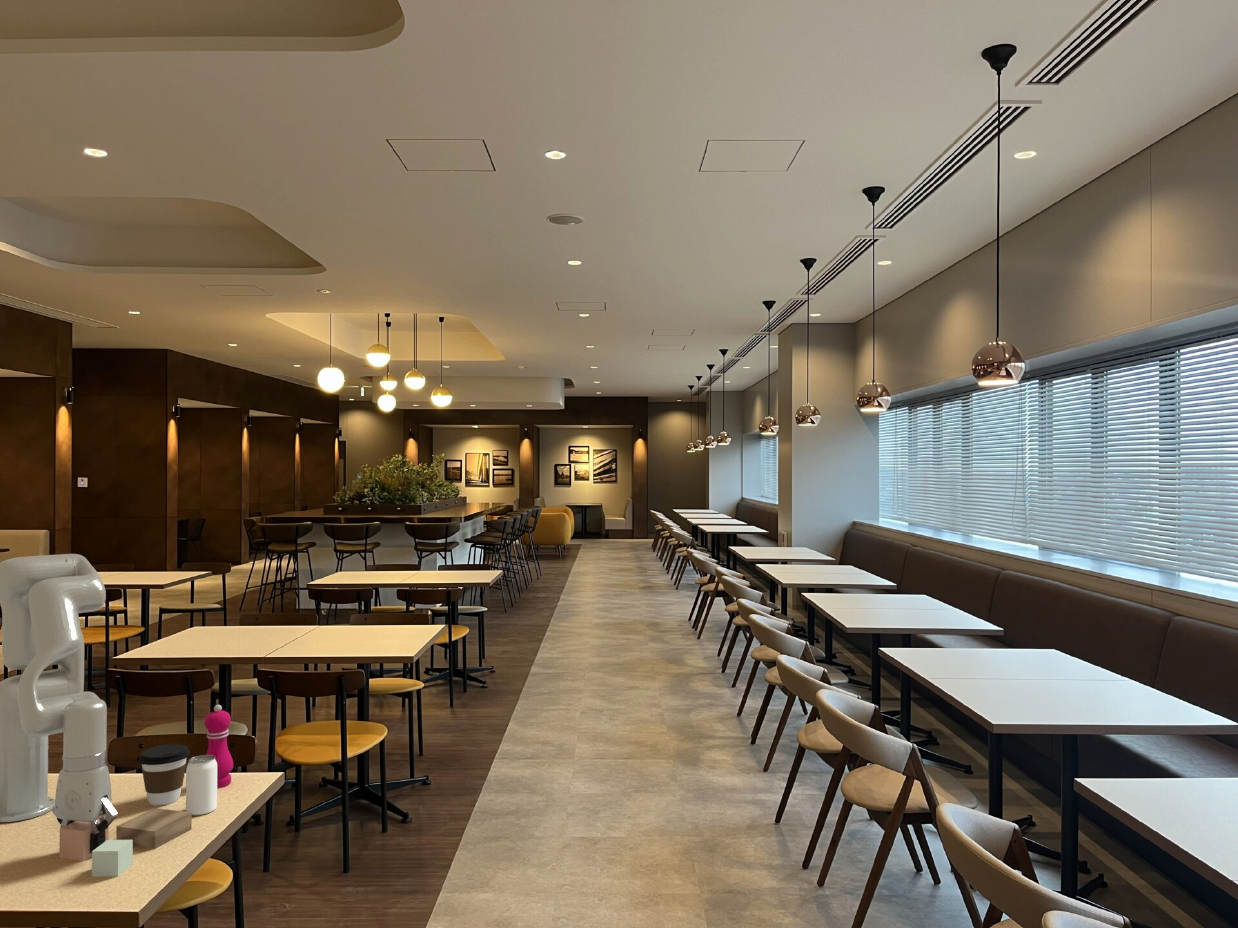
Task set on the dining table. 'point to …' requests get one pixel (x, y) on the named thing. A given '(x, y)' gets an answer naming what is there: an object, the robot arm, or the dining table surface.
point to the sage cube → (112, 858)
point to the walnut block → (155, 827)
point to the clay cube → (77, 840)
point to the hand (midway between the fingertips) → (84, 848)
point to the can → (201, 785)
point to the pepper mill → (219, 744)
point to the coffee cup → (164, 772)
